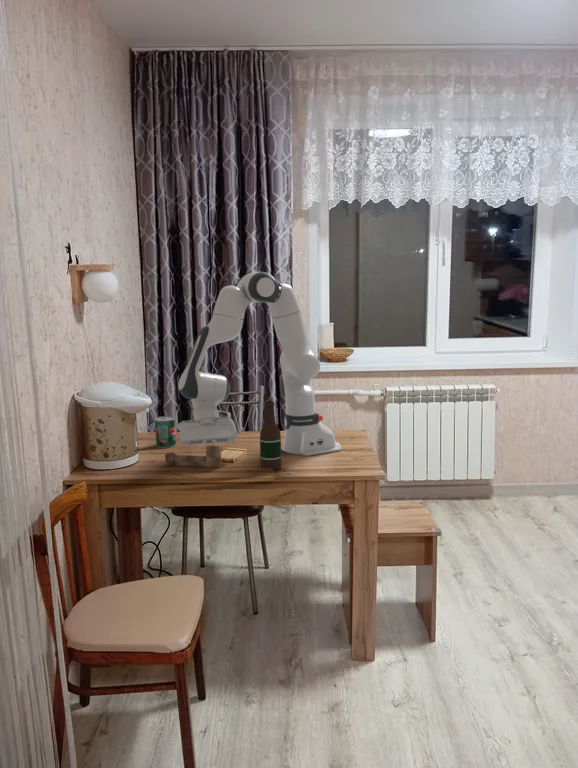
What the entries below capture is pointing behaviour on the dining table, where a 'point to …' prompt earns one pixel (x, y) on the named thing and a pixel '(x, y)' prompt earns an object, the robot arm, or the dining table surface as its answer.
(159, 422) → the canned tomato
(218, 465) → the wooden l-shaped block
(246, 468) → the dining table surface
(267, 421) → the beer bottle
